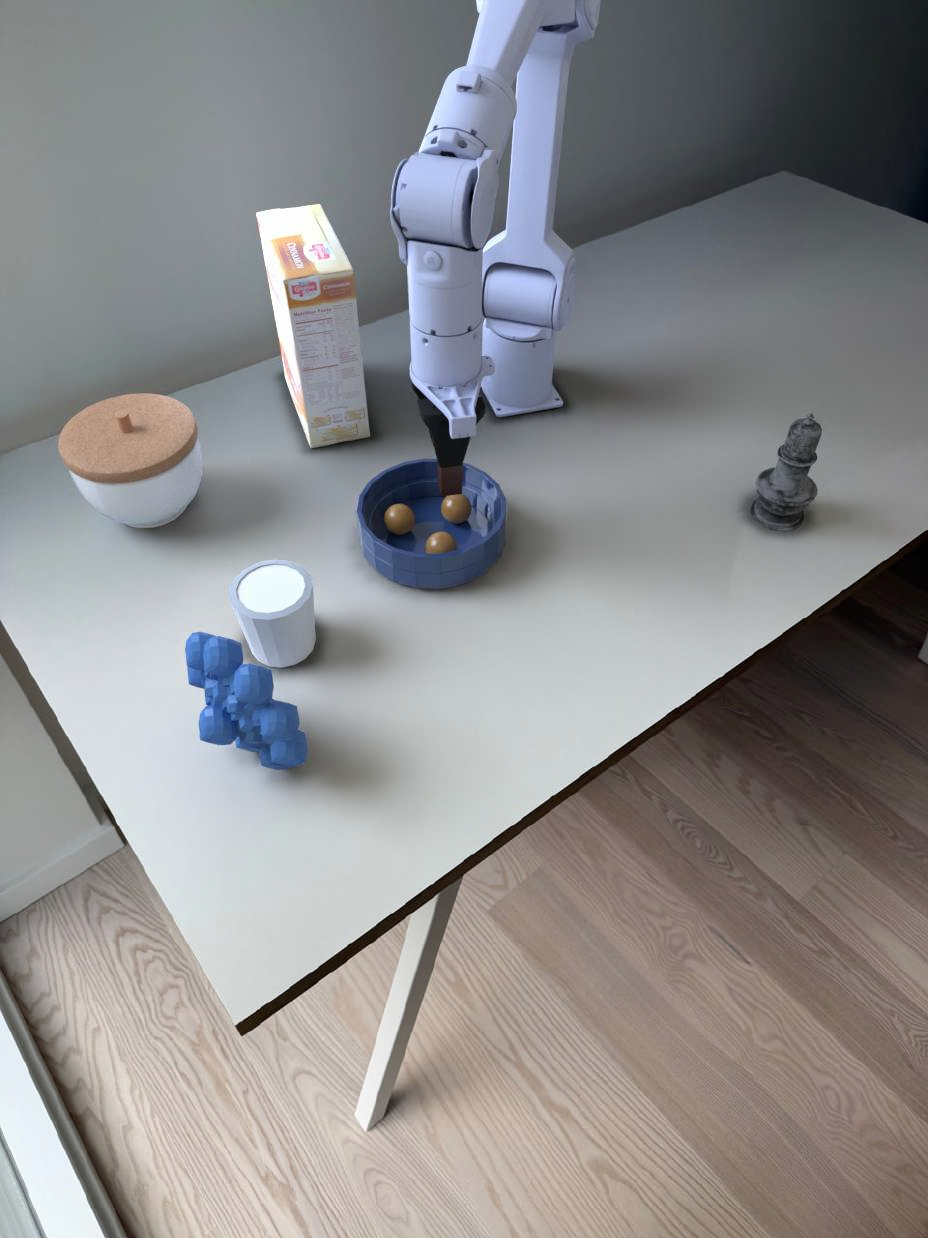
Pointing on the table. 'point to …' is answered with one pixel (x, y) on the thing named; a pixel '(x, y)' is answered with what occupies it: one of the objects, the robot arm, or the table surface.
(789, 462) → the grey chess piece
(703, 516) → the table surface
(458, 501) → the bead
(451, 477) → the stick
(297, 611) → the white cylinder
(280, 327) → the coffeecake box
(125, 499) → the lidded bowl
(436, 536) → the bead
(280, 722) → the grapes
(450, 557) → the bowl
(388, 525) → the bead
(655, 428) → the table surface
